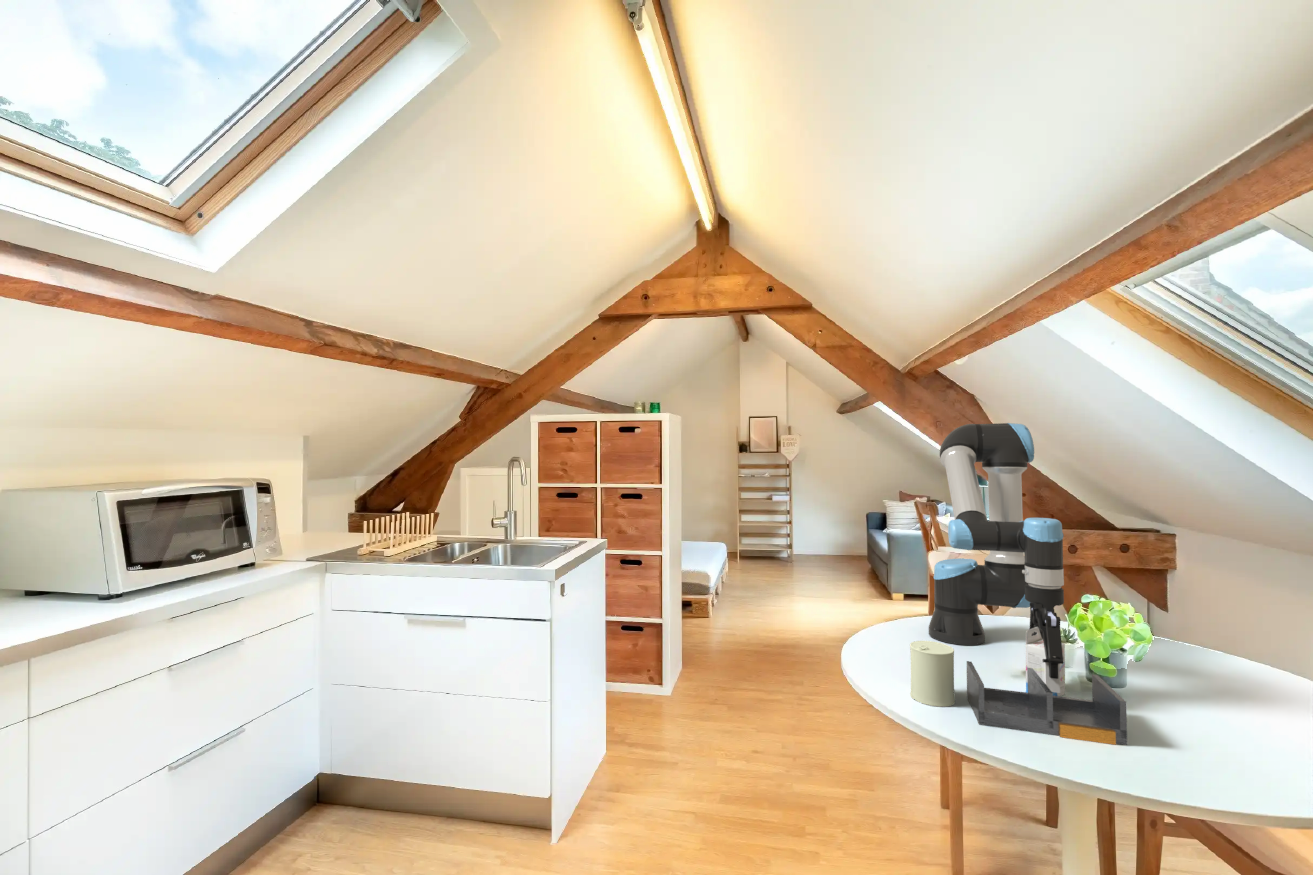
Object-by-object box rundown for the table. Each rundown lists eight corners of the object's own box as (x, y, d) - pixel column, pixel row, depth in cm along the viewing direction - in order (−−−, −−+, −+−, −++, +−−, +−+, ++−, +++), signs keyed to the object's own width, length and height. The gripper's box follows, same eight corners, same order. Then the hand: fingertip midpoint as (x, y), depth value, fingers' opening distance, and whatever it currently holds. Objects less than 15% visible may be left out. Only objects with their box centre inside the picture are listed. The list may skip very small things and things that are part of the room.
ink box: (1049, 702, 128) (1048, 636, 129) (1025, 694, 133) (1024, 630, 133) (1066, 693, 133) (1065, 629, 134) (1042, 686, 137) (1041, 624, 138)
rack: (967, 697, 131) (966, 660, 131) (1098, 713, 123) (1097, 674, 123) (979, 725, 117) (979, 685, 118) (1128, 746, 109) (1127, 702, 109)
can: (901, 693, 133) (900, 641, 134) (930, 687, 137) (929, 636, 137) (934, 709, 125) (933, 654, 125) (964, 702, 128) (963, 648, 129)
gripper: (1013, 574, 145) (1014, 664, 145) (1038, 594, 125) (1040, 699, 124) (1048, 576, 143) (1049, 668, 142) (1080, 597, 122) (1082, 704, 121)
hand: (1045, 683), depth 133 cm, fingers closed on ink box, 9 cm apart
